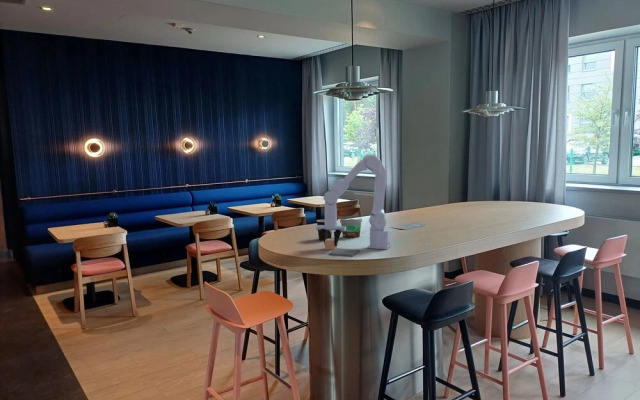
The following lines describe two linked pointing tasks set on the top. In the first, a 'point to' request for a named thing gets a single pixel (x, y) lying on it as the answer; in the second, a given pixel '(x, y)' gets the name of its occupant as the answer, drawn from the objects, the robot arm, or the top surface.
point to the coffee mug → (320, 222)
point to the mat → (344, 252)
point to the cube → (330, 244)
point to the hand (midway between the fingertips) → (330, 245)
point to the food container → (351, 228)
